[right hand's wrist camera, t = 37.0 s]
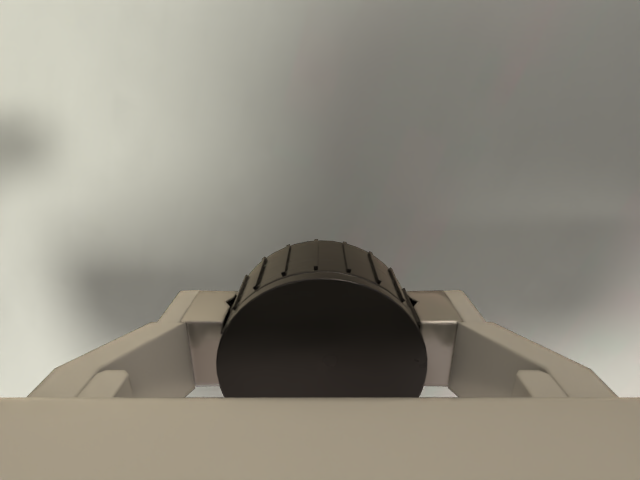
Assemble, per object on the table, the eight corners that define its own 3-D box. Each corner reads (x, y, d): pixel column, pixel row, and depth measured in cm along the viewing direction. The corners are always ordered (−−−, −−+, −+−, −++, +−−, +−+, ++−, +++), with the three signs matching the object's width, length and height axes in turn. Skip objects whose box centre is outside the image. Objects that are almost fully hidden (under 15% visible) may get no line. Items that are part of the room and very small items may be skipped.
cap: (250, 217, 9) (232, 251, 7) (434, 260, 9) (464, 303, 7) (221, 370, 11) (199, 431, 9) (378, 400, 11) (391, 466, 9)
